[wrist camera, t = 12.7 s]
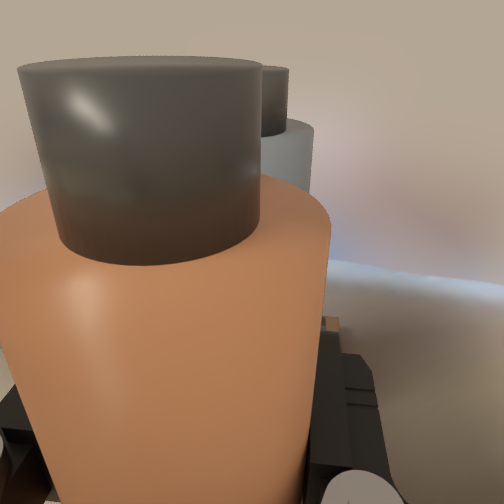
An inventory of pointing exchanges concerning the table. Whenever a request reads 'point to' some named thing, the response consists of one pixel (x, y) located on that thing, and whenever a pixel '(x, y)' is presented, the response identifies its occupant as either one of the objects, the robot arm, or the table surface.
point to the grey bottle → (283, 133)
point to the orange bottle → (162, 286)
